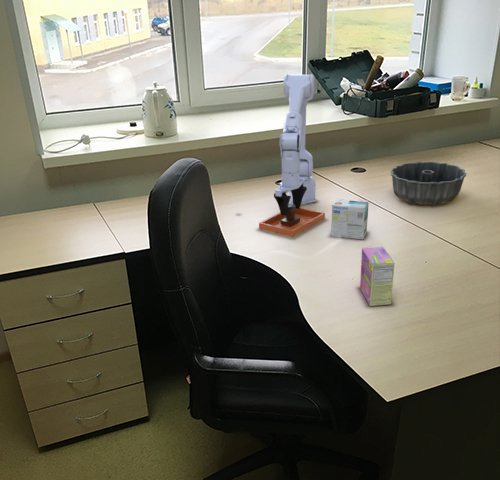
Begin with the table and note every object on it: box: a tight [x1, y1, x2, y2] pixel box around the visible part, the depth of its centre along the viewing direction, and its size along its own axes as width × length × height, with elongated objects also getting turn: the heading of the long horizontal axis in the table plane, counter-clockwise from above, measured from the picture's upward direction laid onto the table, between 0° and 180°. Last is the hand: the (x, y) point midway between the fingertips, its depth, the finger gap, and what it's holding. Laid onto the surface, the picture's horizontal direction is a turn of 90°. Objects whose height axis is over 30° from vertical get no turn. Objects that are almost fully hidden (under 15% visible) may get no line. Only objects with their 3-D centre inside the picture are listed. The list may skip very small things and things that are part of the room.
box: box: [359, 246, 396, 307], centre depth 150 cm, size 10×6×12 cm, turn 5°
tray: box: [258, 207, 326, 238], centre depth 198 cm, size 20×14×2 cm
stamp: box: [281, 203, 300, 227], centre depth 197 cm, size 6×4×6 cm
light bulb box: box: [330, 198, 370, 240], centre depth 187 cm, size 11×7×11 cm, turn 71°
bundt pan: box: [390, 161, 467, 206], centre depth 214 cm, size 26×26×10 cm
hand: (290, 211), depth 196 cm, fingers open, 7 cm apart
